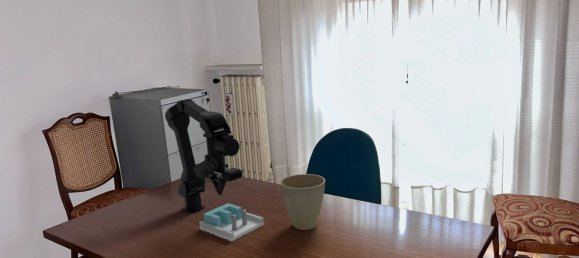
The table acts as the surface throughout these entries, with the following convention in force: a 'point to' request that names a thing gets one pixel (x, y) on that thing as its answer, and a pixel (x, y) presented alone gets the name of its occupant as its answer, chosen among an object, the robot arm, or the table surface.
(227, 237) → the board
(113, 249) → the table surface
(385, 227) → the table surface
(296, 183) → the plant pot
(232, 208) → the teal notched block
